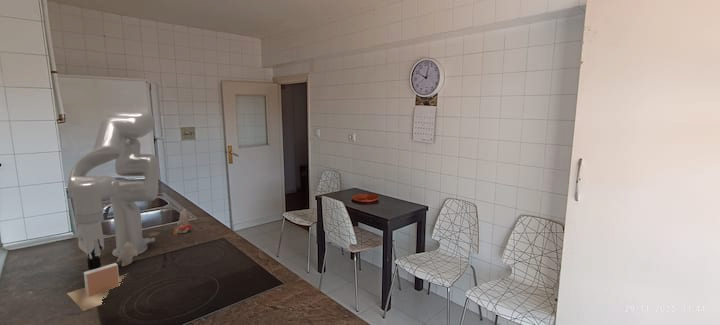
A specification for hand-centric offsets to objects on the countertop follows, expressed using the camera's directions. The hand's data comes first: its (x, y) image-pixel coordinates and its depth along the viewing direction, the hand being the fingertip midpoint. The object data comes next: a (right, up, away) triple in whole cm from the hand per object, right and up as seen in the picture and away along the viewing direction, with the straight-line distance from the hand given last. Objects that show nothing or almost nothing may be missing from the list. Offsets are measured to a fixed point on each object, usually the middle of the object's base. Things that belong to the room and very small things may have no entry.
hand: (94, 268), depth 120 cm
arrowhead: (+1, -4, +17) cm, 17 cm away
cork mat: (+6, -7, -2) cm, 10 cm away
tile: (+5, -7, -3) cm, 9 cm away
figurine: (+3, +2, +53) cm, 53 cm away
